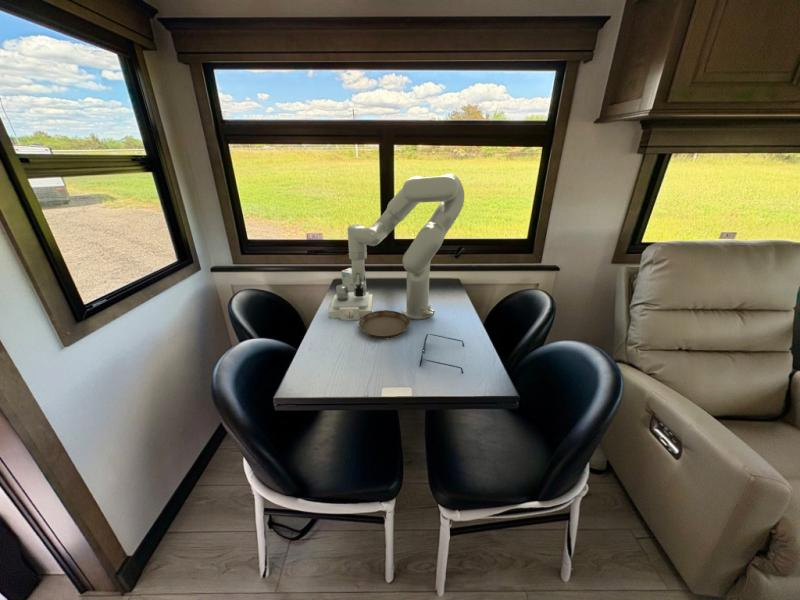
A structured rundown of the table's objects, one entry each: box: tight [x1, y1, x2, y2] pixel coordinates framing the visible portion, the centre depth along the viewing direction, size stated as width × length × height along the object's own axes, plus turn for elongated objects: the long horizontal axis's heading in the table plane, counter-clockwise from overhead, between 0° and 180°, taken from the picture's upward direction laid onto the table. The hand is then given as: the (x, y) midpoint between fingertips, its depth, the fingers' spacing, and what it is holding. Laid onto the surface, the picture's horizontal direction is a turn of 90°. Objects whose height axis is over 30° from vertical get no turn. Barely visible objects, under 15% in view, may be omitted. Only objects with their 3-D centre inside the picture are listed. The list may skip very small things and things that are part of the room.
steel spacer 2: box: [353, 280, 367, 297], centre depth 148 cm, size 5×5×6 cm
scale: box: [328, 291, 374, 321], centre depth 149 cm, size 18×21×5 cm
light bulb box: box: [341, 267, 367, 292], centre depth 169 cm, size 11×7×11 cm, turn 58°
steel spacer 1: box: [335, 283, 349, 301], centre depth 148 cm, size 5×5×6 cm
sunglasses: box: [419, 333, 465, 374], centre depth 115 cm, size 17×15×5 cm
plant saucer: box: [358, 310, 411, 340], centre depth 134 cm, size 21×21×3 cm
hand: (359, 293), depth 149 cm, fingers closed on steel spacer 2, 5 cm apart
